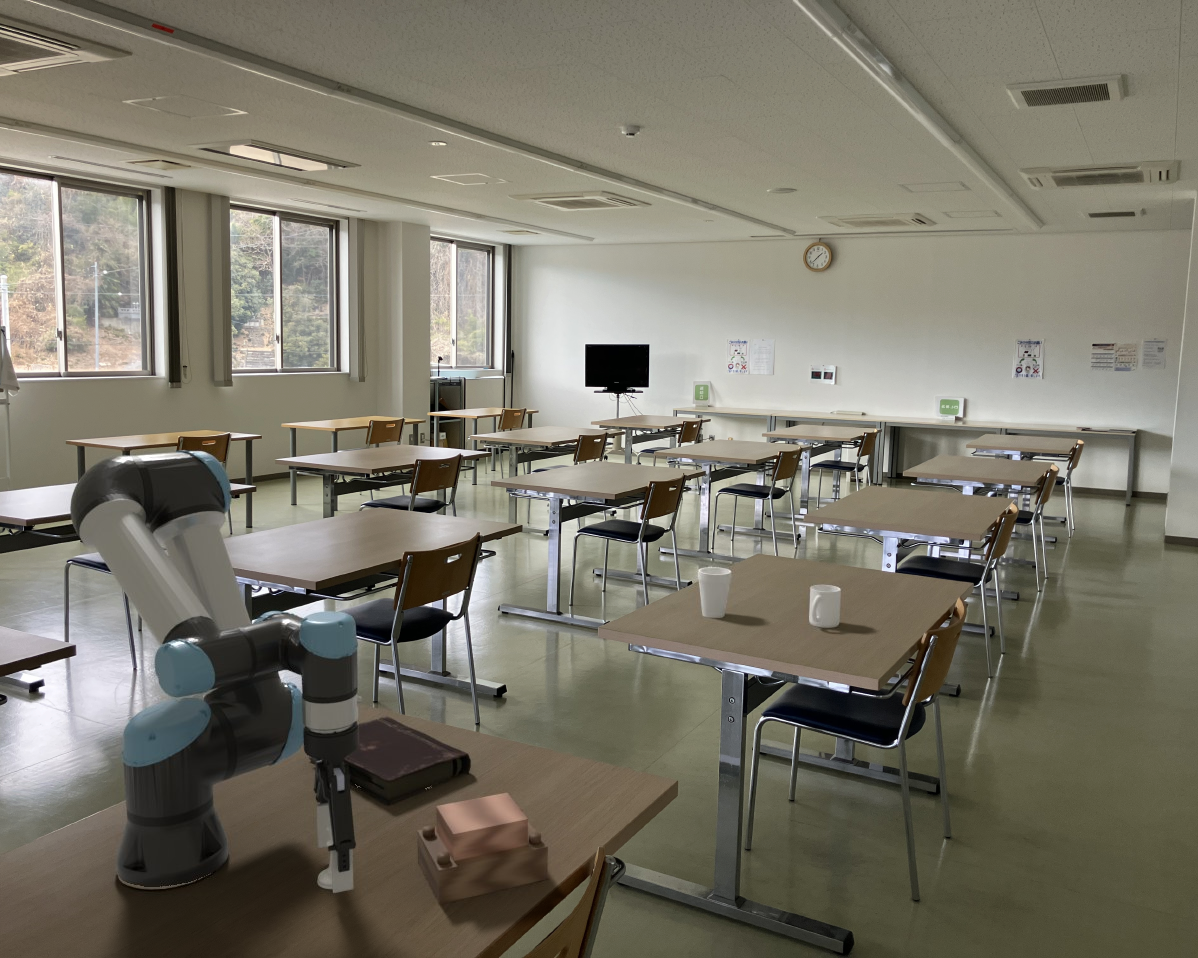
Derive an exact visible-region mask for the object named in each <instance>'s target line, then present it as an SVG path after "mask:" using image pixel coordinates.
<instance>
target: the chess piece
mask: <svg viewBox="0 0 1198 958" xmlns="http://www.w3.org/2000/svg"><path fill="white" fill-rule="evenodd" d="M329 820H330V817H329ZM327 832H328V834H329V837H330V839H331V840H329V841H328V842H327V847H328V846H331V845H333V839H332V831H331V825H329V826H328V827H327ZM328 865H329V866H328V867H327V868H326V869H324V870H322V871H321V872H320V873H319V874H318V876H317V882H316V883H317V885H318V886H319V887H321V888H322V889H326V890H332V854H331V853H330V857H329V864H328Z"/></svg>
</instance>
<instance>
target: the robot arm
mask: <svg viewBox="0 0 1198 958" xmlns="http://www.w3.org/2000/svg"><path fill="white" fill-rule="evenodd" d="M231 490H232V487H231V482H230V479H229V476H228V474H227V471H226V469H225V468H224V466H223V464H221V462H220V461H219V460H218V458H216V457H215V456H214V455H212V454H210V453H208V452H206V451H202V450H185V449H183V450H176V451H172V452H171V451H170V452H161V453H160V452H159V453H158V452H157V453H145V454H135V455H134V454H132V455H131V454H130V455H117V456H112V457H108V458H104V459H103V460H101V461H99V462H97V463H94V465H92V466H91V467H90V468H88V470H86V471H85V473H83V475H82V476H81V477H80V479H79V480H78V482H77V483H76V485H75V487H74V489H73V492H72V495H71V500H70V518H71V522H72V526H73V528H74V530H75V532H76V534H77V535H78V537H79V539H80V540H81V541H82V543H83V544H84V546H86V547H88V548H89V549H92V550H95V551H97V553H98V554H99V555H100V557H101V558H102V559H103V562H104V563H105V565H106V566H107V568H108V569H109V570H110V572H111V574H112V576H113V577H114V578H115V580H116V582H117V583H118V585H119V586H120V588H121V589H122V590H123V592H124V594H125V595H126V597H127V598H128V599H129V602H130V603H131V605H132V606H133V607H134V609H135V610H136V612H137V614H138V616H139V617H140V618H141V619H142V621H143V623H144V625H145V626H146V627H147V629H148V630H149V632H150V633H151V635H152V636H153V638H154V640H155V642H156V643H157V644H158V646H159V647H158V649H156V652H155V657H154V671H155V675H156V676H157V678H158V684H159V687H160V688H161V690H162V691H163V692H164V693H165V694H166V695H168V696H170V697H173V698H174V699H169V700H165V701H161V702H158V703H156V704H153V705H151V706H149V707H147V708H146V707H145V709H143V710H141V711H140V712H138V713H137V714H135V715H134V716H133V717H131V719H130V720H129V722H128V723H127V724H126V726H125V727H124V729H123V735H122V737H123V739H122V750H121V759H122V762H123V763H122V764H123V773H124V774H123V776H124V791H125V806H126V823H125V826H124V831H123V833H122V836H121V837H122V838H121V840H120V843H119V847H118V850H117V852H116V853H117V855H116V858H115V869H116V871H117V872H116V876H117V875H118V876H119V877H120V878H121V879H122V880H123V881H125V882H127V883H130V884H134V885H140V886H144V887H160V886H161V887H162V886H169V885H170V886H171V885H177V884H182V883H188V882H191V881H194V880H196V879H197V880H198V879H199V878H201V877H204V876H206V875H208V874H210V873H212V872H213V871H215V870H216V871H218V870H220V869H221V867H222V866H223V865H224V864H225V863H226V861H227V860H228V856H229V839H228V835H227V833H226V831H225V828H224V827H223V823H222V821H221V819H220V817H219V815H218V812H217V810H216V807H215V805H214V804H215V803H214V785H216V784H219V783H221V782H223V781H227V780H230V779H233V778H235V777H238V776H241V775H244V774H247V773H250V772H253V771H256V770H259V769H261V768H264V767H268V766H270V767H271V766H274V765H276V764H277V763H279V762H281V761H283V760H287V759H289V758H290V757H292V756H294V755H296V754H297V753H299V752H298V751H300V749H301V748H302V746H303V750H304V753H305V754H306V756H308V757H311V758H315V759H316V764H314V765H315V767H314V785H313V786H314V787H313V792H314V794H316V795H315V801H316V803H319V804H316V827H317V829H316V831H317V833H316V834H317V848H318V849H320V848H321V849H322V848H327V851H328V852H330V854H332V889H331V890H332V893H333V894H336V893H337V894H338V893H341V892H342V893H343V892H345V891H350V890H354V889H355V888H354V860H353V857H354V854H353V853H354V852H353V850H354V849H356V847H357V843H356V839H355V827H354V826H355V825H354V818H353V806H352V795H351V785H350V775H349V766H348V764H345V757H346V756H347V755H349V754H352V753H353V752H355V751H356V750H357V748H358V747H359V724H360V723H359V722H358V721H357V720H359V719H358V718H359V707H358V704H360V703H362V701H363V697H362V696H361V695H359V694H358V685H359V684H358V681H359V680H358V678H359V676H358V647H359V642H358V639H357V637H358V636H357V625H356V620H355V619H354V617H353V616H352V615H351V614H349V613H347V612H344V611H333V610H327V611H318V612H313V613H310V614H308V615H306V616H304V617H302V616H298V615H297V614H295V613H290V612H286V611H279V610H271V611H268V612H265V613H263V614H262V615H260V616H259V617H258V618H257V619H255V620H254V622H251V619H250V616H249V613H248V609H247V607H246V604H245V601H244V598H243V596H242V593H241V589H240V586H239V583H238V581H237V577H236V574H235V572H234V568H233V565H232V562H231V559H230V556H229V553H228V550H227V548H226V545H225V542H224V538H223V535H222V532H221V529H222V528H223V525H224V524H225V522H226V520H227V518H226V513H228V511H229V509H230V507H231V504H232V498H233V497H232V495H231V493H230V491H231ZM161 545H162V546H164V547H165V549H166V551H165V550H164V549H163V547H162V546H161ZM166 552H167V553H166ZM282 671H288V672H292V673H294V674H296V675H299V676H300V677H301V689H299V688H298V686H297V685H296V684H295V683H292V682H291V681H290V682H289V681H282V679H281V677H280V674H279V672H282ZM198 694H203V696H202V699H201V698H198V697H189V696H193V695H198ZM176 698H180V699H176ZM329 817H330V820H329ZM329 825H331V831H332V839H333V845H331V846H327V842H328V841H329V840H331V839H330V837H329V834H328V832H327V827H328V826H329ZM217 869H218V870H217ZM216 871H215V872H216ZM212 874H213V873H212ZM210 875H211V874H210ZM198 881H199V880H198Z"/></svg>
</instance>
